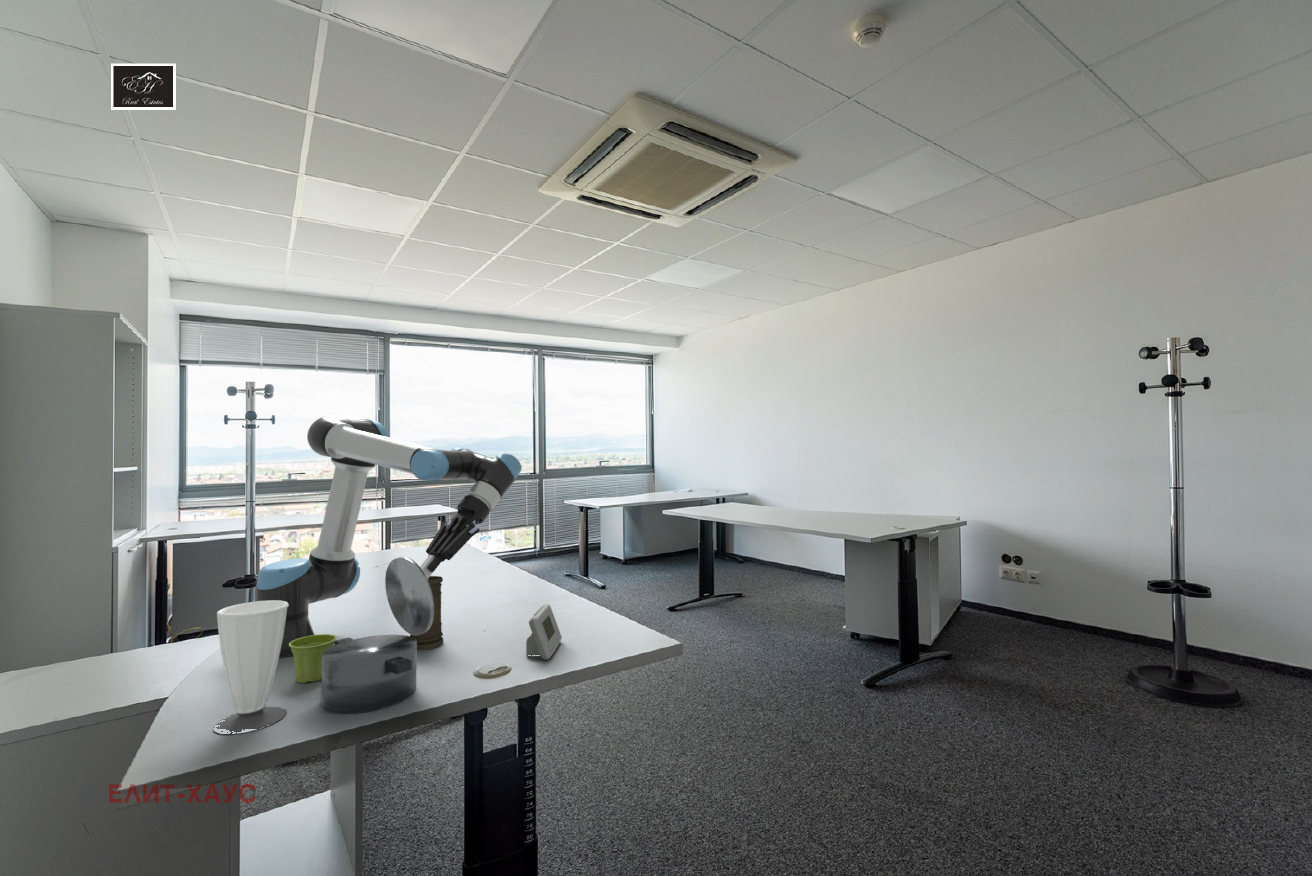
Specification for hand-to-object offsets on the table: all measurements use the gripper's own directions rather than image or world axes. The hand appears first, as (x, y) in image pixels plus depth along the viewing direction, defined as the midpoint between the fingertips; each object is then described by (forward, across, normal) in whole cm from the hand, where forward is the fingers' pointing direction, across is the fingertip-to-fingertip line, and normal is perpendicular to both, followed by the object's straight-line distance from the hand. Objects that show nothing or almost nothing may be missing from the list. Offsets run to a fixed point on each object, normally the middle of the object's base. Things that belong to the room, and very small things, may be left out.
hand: (416, 581), depth 126 cm
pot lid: (+4, +1, -1) cm, 4 cm away
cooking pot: (+23, +1, -9) cm, 24 cm away
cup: (+36, +8, +5) cm, 38 cm away
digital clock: (-6, -9, -38) cm, 40 cm away
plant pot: (+25, +22, -7) cm, 34 cm away
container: (+5, +23, -27) cm, 36 cm away
